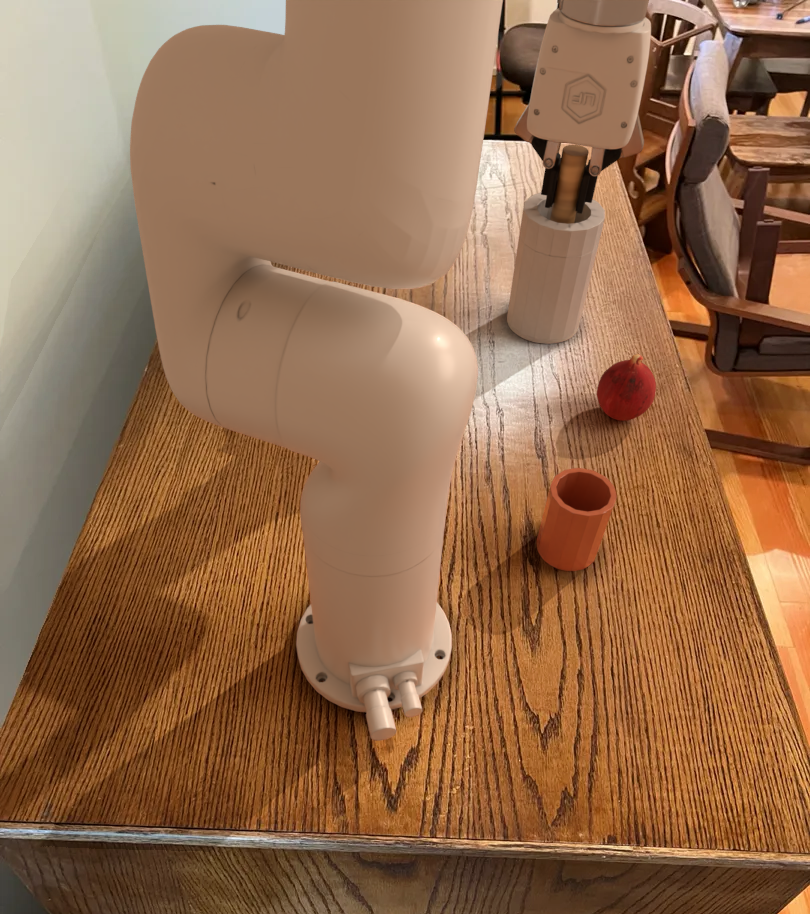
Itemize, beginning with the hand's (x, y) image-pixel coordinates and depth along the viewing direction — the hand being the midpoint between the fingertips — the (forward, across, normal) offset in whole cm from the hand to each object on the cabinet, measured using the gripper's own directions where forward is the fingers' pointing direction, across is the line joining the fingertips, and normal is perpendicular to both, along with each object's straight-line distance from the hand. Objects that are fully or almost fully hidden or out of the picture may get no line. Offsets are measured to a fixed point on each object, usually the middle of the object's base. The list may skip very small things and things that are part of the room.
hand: (565, 203), depth 81 cm
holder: (+14, +8, -35) cm, 38 cm away
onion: (+15, +11, -15) cm, 23 cm away
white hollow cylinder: (+15, 0, 0) cm, 15 cm away
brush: (+13, 0, 0) cm, 13 cm away
